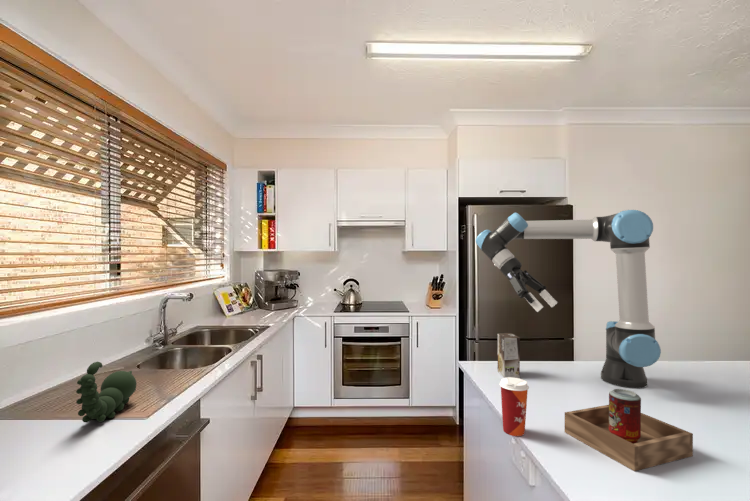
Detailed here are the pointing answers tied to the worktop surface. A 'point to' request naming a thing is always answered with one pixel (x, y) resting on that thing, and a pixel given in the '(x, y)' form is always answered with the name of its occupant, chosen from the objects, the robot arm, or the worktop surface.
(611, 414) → the soda can
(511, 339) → the coffee box
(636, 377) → the robot arm
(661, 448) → the walnut box
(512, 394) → the paper cup
